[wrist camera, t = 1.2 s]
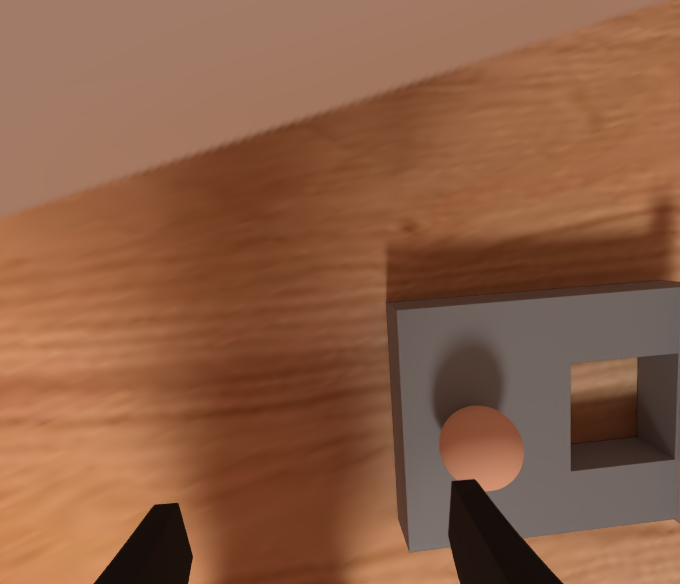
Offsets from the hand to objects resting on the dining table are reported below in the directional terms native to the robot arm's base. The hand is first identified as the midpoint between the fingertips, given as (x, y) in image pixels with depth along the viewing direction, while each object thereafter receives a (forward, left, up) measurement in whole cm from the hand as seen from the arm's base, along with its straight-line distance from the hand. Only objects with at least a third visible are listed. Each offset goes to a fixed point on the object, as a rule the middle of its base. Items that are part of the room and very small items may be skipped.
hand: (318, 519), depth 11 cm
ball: (-2, -7, -7) cm, 10 cm away
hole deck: (-2, -12, -11) cm, 16 cm away
